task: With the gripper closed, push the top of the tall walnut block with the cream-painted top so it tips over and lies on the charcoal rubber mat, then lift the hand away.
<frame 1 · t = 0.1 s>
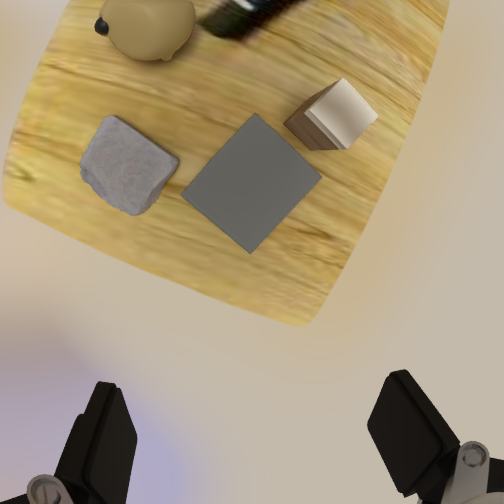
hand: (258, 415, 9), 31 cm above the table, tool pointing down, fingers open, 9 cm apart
stone block: (128, 167, 35), on the table
tan rounded figure: (154, 35, 30), on the table
rubber mat: (252, 184, 37), on the table
walnut block: (309, 124, 35), on the table
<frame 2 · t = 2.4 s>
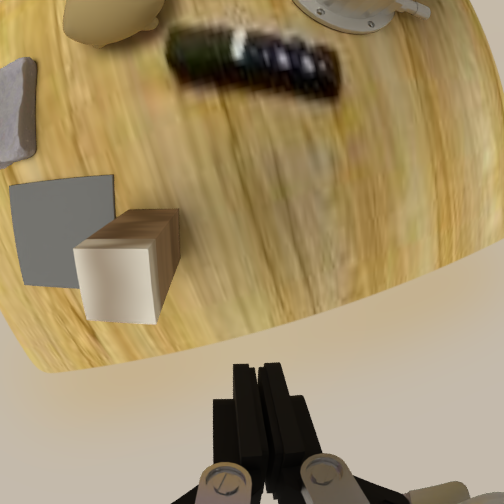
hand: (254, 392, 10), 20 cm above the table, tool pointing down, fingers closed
stone block: (9, 117, 22), on the table
tan rounded figure: (127, 10, 20), on the table
rubber mat: (60, 235, 27), on the table
walnut block: (154, 234, 28), on the table
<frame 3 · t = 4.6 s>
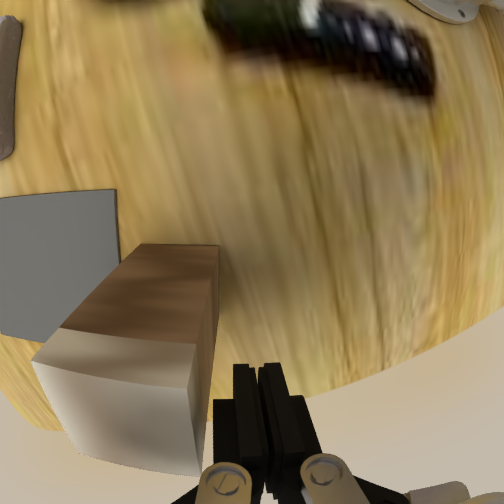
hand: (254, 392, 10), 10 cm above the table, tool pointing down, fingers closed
rubber mat: (41, 275, 18), on the table
walnut block: (180, 282, 19), on the table, touching gripper
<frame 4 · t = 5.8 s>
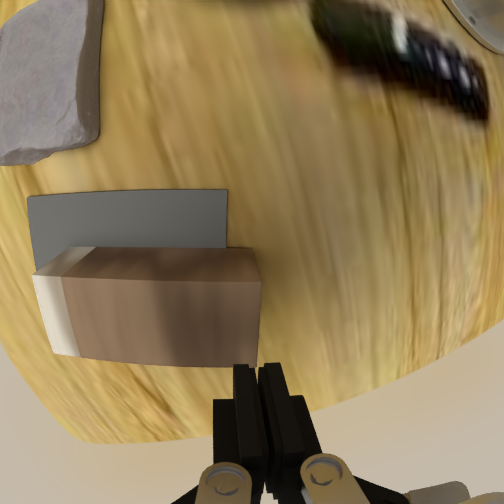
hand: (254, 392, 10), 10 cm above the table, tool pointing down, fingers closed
stone block: (45, 81, 14), on the table
rubber mat: (121, 281, 18), on the table
walnut block: (254, 304, 17), point 3 cm above the table, tilted 90°, touching rubber mat
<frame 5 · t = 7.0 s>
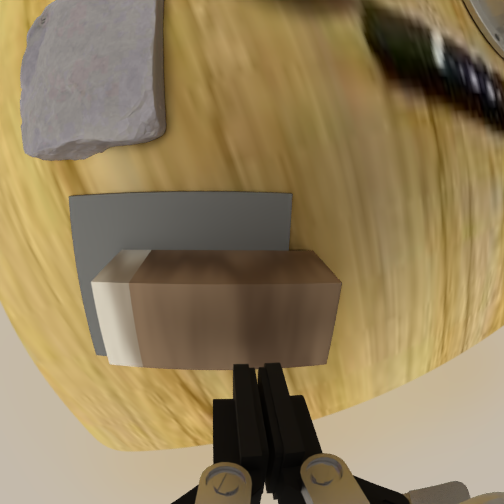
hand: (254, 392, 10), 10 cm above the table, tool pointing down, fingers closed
stone block: (95, 71, 14), on the table
rubber mat: (177, 284, 19), on the table
walnut block: (320, 304, 17), point 3 cm above the table, tilted 90°, touching rubber mat
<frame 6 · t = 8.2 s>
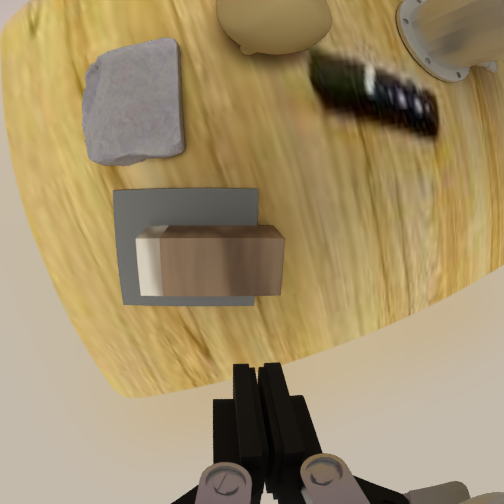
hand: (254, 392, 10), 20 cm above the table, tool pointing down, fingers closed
stone block: (134, 106, 24), on the table
tan rounded figure: (263, 20, 23), on the table
rubber mat: (184, 249, 29), on the table
walnut block: (276, 258, 27), point 3 cm above the table, tilted 90°, touching rubber mat
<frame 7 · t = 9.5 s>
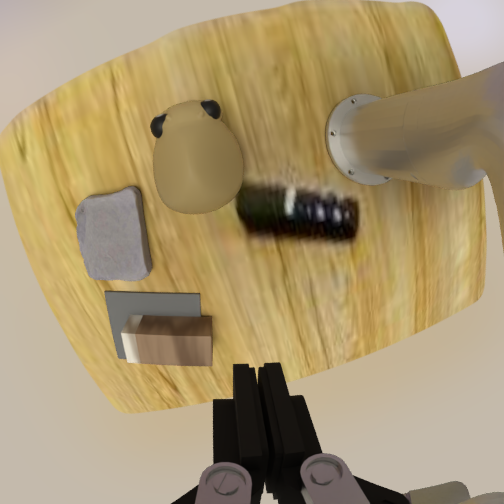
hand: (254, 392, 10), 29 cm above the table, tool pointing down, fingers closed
stone block: (115, 233, 37), on the table
tan rounded figure: (199, 157, 35), on the table
rubber mat: (154, 328, 41), on the table
walnut block: (211, 341, 39), point 3 cm above the table, tilted 90°, touching rubber mat
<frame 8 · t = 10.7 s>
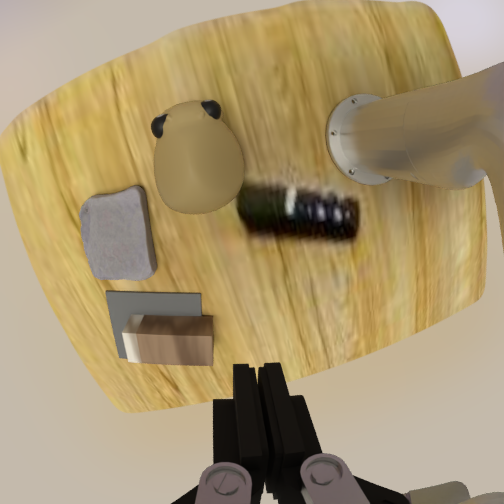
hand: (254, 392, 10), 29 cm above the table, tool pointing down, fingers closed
stone block: (119, 232, 37), on the table
tan rounded figure: (199, 157, 35), on the table
rubber mat: (155, 328, 41), on the table
walnut block: (212, 340, 40), point 3 cm above the table, tilted 90°, touching rubber mat
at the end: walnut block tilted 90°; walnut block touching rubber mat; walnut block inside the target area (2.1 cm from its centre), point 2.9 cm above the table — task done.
